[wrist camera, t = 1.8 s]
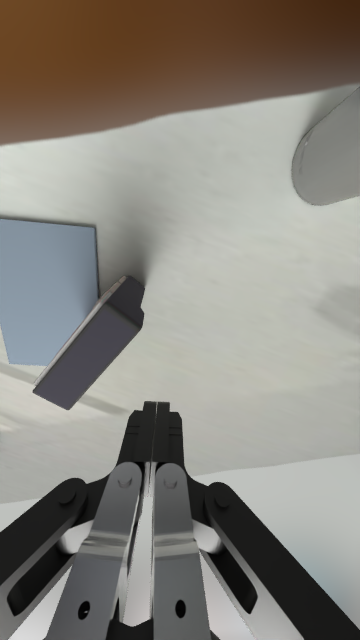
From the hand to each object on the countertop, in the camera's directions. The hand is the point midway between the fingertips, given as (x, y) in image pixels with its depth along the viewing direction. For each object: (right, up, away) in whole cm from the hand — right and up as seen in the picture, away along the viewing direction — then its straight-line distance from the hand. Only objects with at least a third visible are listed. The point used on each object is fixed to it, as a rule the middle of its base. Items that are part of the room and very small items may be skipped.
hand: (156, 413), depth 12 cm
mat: (-19, +8, +18) cm, 27 cm away
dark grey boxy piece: (-9, +7, +19) cm, 22 cm away
